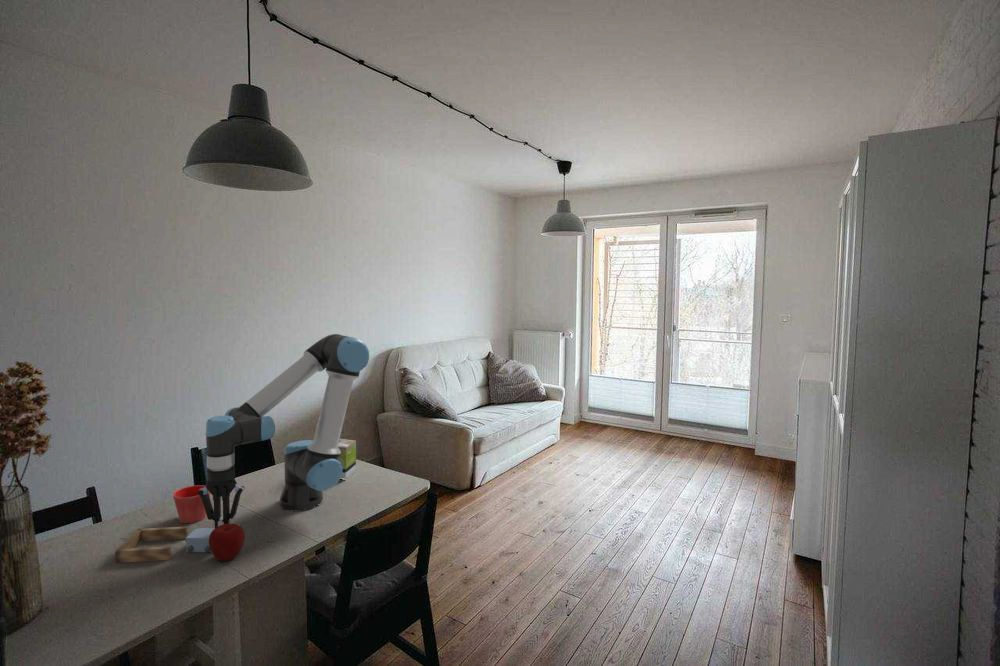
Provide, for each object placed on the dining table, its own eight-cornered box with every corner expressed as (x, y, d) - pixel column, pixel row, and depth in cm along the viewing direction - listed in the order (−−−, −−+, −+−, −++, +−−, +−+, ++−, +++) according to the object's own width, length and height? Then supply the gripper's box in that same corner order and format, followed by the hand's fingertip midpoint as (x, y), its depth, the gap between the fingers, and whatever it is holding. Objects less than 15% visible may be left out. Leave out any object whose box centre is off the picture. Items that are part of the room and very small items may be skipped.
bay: (188, 536, 165) (187, 526, 164) (169, 559, 152) (169, 548, 151) (139, 539, 162) (138, 528, 162) (115, 562, 149) (115, 551, 149)
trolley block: (224, 541, 163) (223, 527, 163) (211, 553, 156) (211, 539, 155) (198, 540, 163) (198, 527, 162) (185, 552, 156) (184, 538, 155)
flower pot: (177, 513, 180) (176, 487, 179) (212, 509, 184) (212, 483, 183) (171, 527, 170) (170, 499, 169) (209, 522, 174) (208, 495, 173)
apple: (221, 548, 159) (220, 517, 158) (251, 549, 159) (250, 519, 157) (202, 565, 149) (201, 532, 148) (234, 567, 149) (234, 534, 148)
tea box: (312, 477, 215) (312, 443, 214) (324, 468, 225) (324, 436, 223) (345, 481, 213) (346, 446, 211) (356, 472, 223) (356, 439, 221)
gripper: (247, 461, 162) (248, 532, 165) (202, 462, 160) (204, 534, 162) (240, 470, 155) (241, 544, 158) (192, 472, 153) (194, 547, 155)
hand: (222, 539), depth 160 cm, fingers closed
